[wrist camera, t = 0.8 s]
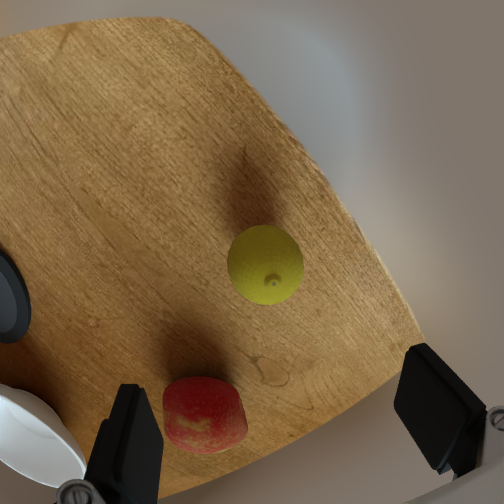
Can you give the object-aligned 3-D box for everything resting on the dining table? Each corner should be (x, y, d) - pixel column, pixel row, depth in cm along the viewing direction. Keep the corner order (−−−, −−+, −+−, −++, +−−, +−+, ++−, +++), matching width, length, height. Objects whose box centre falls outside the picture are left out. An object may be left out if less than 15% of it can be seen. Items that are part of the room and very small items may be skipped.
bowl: (-28, 331, 27) (-55, 359, 20) (102, 392, 31) (86, 434, 24) (-7, 422, 32) (-23, 449, 25) (97, 469, 35) (89, 503, 29)
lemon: (300, 258, 28) (329, 297, 20) (245, 288, 28) (255, 336, 21) (271, 203, 26) (293, 224, 19) (213, 236, 27) (212, 269, 19)
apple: (166, 356, 30) (155, 412, 22) (249, 363, 31) (259, 420, 23) (167, 410, 32) (160, 464, 24) (240, 415, 33) (246, 469, 26)
